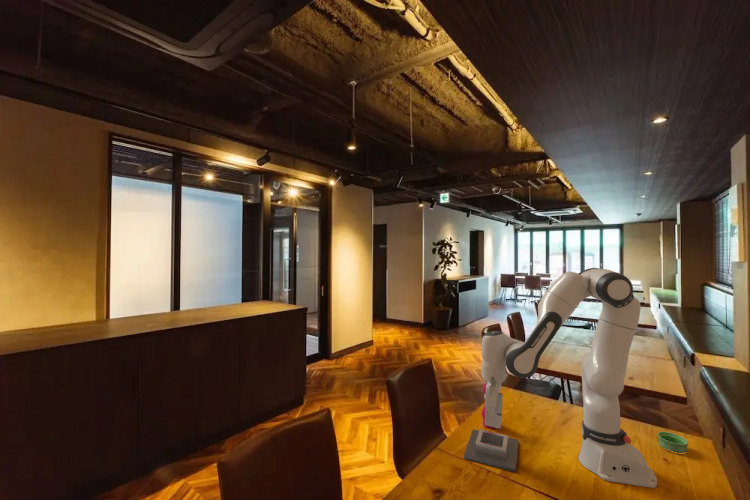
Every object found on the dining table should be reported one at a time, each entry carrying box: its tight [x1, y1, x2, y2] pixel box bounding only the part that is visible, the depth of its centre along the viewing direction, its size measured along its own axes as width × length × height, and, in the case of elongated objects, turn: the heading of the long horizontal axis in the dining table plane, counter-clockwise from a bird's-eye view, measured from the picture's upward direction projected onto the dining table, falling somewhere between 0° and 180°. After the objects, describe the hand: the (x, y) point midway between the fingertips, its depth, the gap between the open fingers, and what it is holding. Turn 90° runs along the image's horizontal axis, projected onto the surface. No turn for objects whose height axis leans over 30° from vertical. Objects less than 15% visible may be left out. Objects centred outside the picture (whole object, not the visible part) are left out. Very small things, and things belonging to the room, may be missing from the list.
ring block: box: [463, 428, 519, 473], centre depth 129 cm, size 18×20×4 cm
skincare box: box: [484, 392, 503, 429], centre depth 127 cm, size 6×4×12 cm
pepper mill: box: [481, 383, 496, 430], centre depth 147 cm, size 7×7×20 cm
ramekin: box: [657, 431, 689, 453], centre depth 129 cm, size 9×9×4 cm
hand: (493, 409), depth 127 cm, fingers closed on skincare box, 4 cm apart
